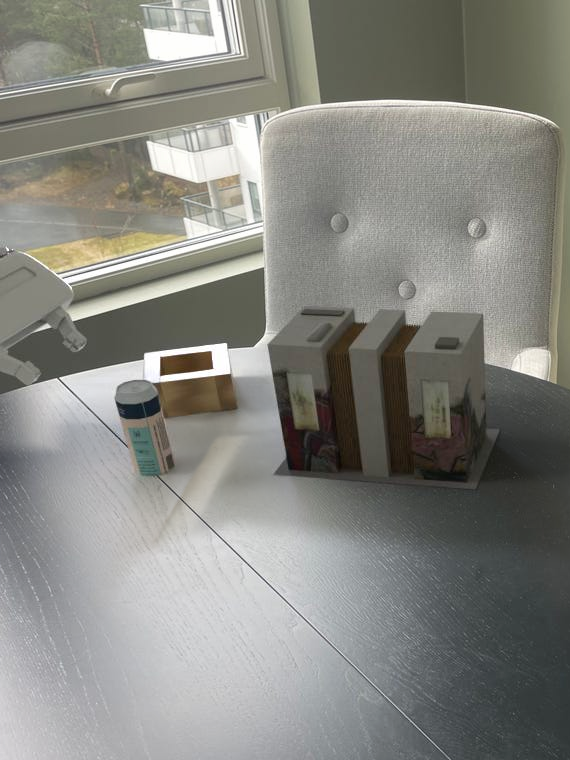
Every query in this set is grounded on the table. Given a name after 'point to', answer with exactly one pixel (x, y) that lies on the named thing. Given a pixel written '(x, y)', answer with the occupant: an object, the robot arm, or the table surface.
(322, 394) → the bookend
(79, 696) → the table surface
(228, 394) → the holder
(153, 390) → the supplement bottle
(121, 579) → the table surface
